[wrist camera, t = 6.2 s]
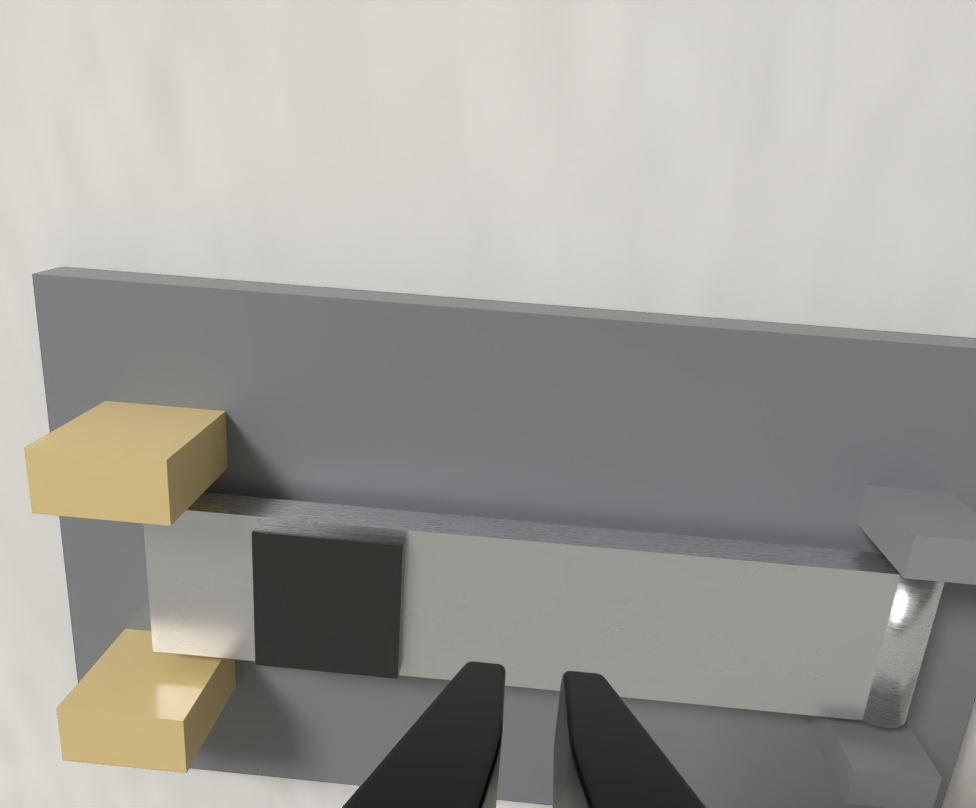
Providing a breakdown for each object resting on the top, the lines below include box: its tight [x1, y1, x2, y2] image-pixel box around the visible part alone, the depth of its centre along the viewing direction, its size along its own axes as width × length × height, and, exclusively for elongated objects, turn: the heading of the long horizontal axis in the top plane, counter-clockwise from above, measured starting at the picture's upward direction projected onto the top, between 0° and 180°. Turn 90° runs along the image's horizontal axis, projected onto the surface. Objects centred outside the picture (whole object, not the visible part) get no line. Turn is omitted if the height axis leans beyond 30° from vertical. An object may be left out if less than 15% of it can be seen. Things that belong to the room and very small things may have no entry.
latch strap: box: [143, 493, 944, 728], centre depth 19 cm, size 19×4×2 cm, turn 86°
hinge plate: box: [24, 267, 976, 808], centre depth 19 cm, size 24×14×4 cm, turn 86°
